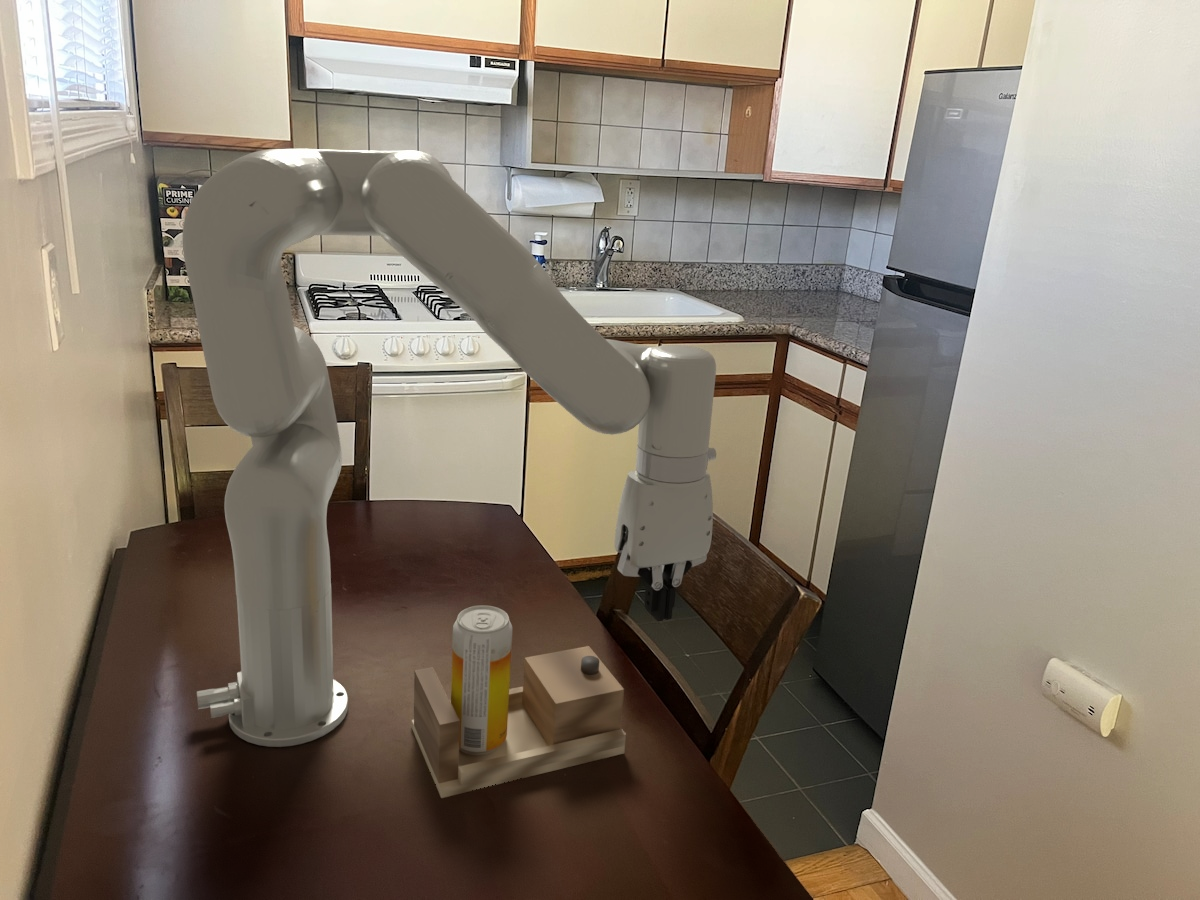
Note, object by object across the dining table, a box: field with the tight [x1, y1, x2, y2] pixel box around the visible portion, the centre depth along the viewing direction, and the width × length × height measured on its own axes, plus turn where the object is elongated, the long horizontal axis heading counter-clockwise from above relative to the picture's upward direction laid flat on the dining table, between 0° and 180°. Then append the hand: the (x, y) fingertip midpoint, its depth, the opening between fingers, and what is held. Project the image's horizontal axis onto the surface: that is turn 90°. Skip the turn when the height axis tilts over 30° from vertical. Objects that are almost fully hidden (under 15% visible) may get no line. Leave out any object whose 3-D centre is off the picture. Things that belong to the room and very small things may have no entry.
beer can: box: [450, 604, 513, 755], centre depth 94 cm, size 6×6×15 cm
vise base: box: [411, 666, 627, 799], centre depth 97 cm, size 20×12×8 cm, turn 115°
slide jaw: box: [522, 645, 625, 746], centre depth 100 cm, size 8×9×7 cm
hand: (658, 614), depth 101 cm, fingers closed
